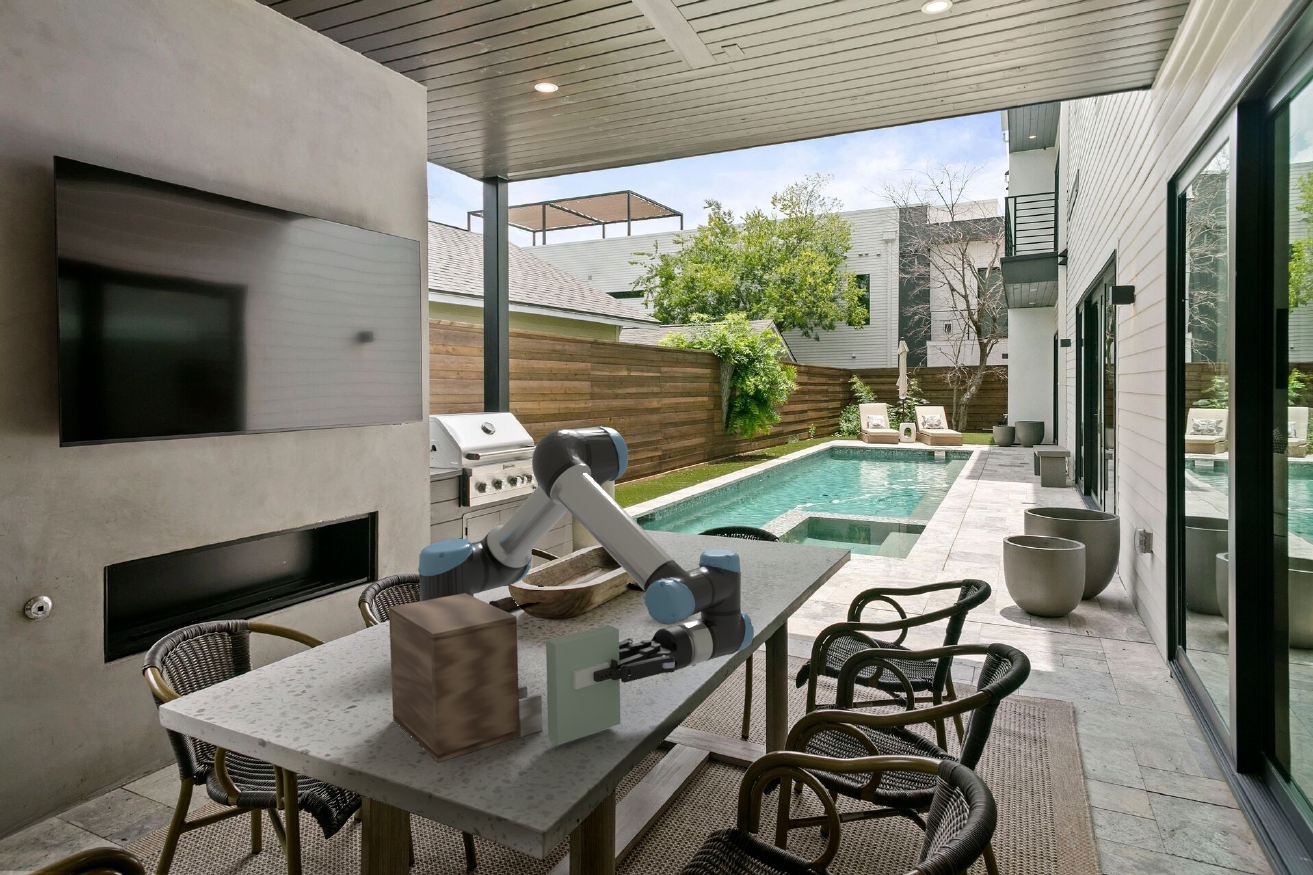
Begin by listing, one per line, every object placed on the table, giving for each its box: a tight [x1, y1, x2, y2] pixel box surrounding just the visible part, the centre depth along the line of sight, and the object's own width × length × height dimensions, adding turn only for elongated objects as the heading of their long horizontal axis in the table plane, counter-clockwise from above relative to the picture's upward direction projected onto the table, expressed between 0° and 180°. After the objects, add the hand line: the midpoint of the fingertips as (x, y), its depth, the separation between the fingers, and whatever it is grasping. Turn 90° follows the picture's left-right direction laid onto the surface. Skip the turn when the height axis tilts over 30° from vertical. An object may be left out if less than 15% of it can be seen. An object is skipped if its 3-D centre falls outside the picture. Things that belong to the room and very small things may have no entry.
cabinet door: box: [545, 624, 621, 745], centre depth 124 cm, size 12×3×16 cm, turn 128°
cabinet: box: [388, 593, 543, 763], centre depth 130 cm, size 18×20×20 cm
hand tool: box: [488, 584, 545, 612], centre depth 204 cm, size 19×4×5 cm, turn 140°
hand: (568, 676), depth 122 cm, fingers closed on cabinet door, 3 cm apart
